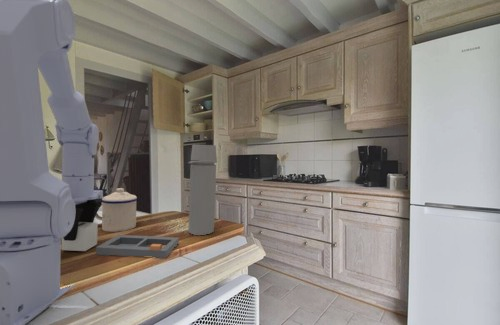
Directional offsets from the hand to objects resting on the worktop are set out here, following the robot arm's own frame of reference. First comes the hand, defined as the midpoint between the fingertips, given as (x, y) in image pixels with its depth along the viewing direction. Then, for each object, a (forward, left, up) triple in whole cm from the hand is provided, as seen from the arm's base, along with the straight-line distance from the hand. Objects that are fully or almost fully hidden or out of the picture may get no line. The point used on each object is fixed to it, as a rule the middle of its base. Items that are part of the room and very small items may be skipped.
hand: (77, 236), depth 52 cm
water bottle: (+15, -24, -3) cm, 29 cm away
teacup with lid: (+16, +1, -3) cm, 16 cm away
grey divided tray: (+1, -13, -4) cm, 14 cm away
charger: (0, -1, -2) cm, 2 cm away
